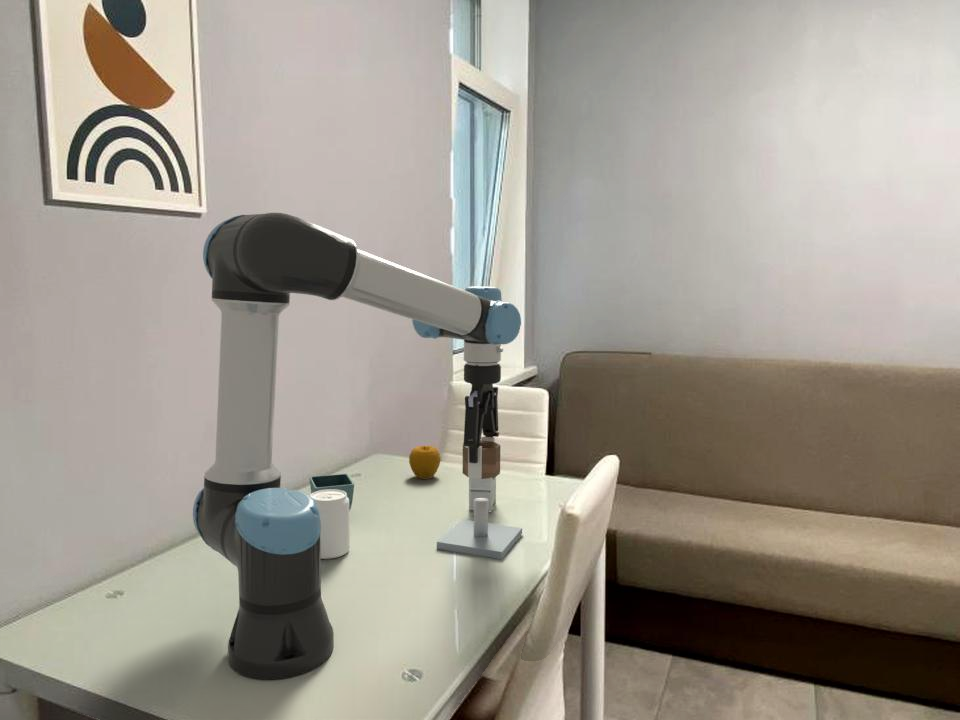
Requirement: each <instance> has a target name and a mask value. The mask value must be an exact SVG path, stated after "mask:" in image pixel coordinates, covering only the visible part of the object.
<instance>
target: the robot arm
mask: <svg viewBox="0 0 960 720" xmlns="http://www.w3.org/2000/svg"><path fill="white" fill-rule="evenodd" d="M202 259H203V264H204V267H205V270H206V272H207V274H208V275H209V276H210V278H211V280H212V281H211V302H213V303H214V304H215V305H216V307H217V308H218V309H219V310H220V311H221V317H220V318H221V321H220V323H221V324H220V341H219V342H220V343H219V344H220V345H219V362H218V363H219V369H218V386H217V387H218V388H217V389H218V392H217V409H216V410H217V412H216V416H217V417H216V436H215V437H216V439H215V457H214V458H215V460H214V463H213V464H212V465H211V466H210V467H209V468H208V469H207V470H206V471H205V472H204V477H203V478H204V479H203V488H202V489H201V490H200V491H199V492H198V494H197V495H196V497H195V500H194V503H193V508H192V521H193V524H194V527H195V529H196V532H197V533H198V535H199V536H200V538H201V539H202V540H203V542H204V543H205V545H207V546H208V547H210V549H212V550H213V551H216V552H217V553H219V554H220V555H221V556H223V558H225V559H227V561H229V562H230V563H231V564H232V565H233V566H235V567H236V568H237V573H238V575H237V576H238V599H239V600H238V601H239V605H238V609H237V612H236V617H235V619H234V623H233V626H232V630H231V632H230V635H229V639H228V643H227V655H228V656H227V657H228V658H227V659H228V664H229V666H230V668H231V669H232V670H234V672H237V673H238V674H240V675H242V676H245V677H247V678H253V679H257V680H278V679H286V678H287V679H288V678H291V677H295V676H299V675H301V674H304V673H307V672H309V671H312V670H314V669H316V668H317V667H319V666H321V665H322V664H323V663H324V662H326V661H327V660H328V658H329V657H330V656H331V655H332V653H333V651H334V648H335V645H334V644H335V641H334V640H335V639H334V628H333V626H332V624H331V622H330V619H329V616H328V613H327V610H326V607H325V604H324V601H323V599H322V574H321V573H322V569H321V568H322V567H321V566H322V565H321V564H322V563H321V562H322V561H321V560H322V559H321V543H320V534H321V520H320V515H319V508H318V505H317V503H316V502H315V500H314V499H313V498H312V497H311V496H310V495H309V494H308V493H306V492H303V491H302V490H298V489H289V488H286V487H281V477H282V474H281V471H280V470H279V468H277V466H275V464H274V463H273V441H274V422H275V420H274V419H275V401H276V381H277V380H276V379H277V364H278V363H277V360H278V359H277V358H278V343H279V341H278V340H279V321H280V320H279V318H280V315H281V314H282V312H283V311H284V310H285V309H287V308H288V307H289V306H290V298H291V294H297V295H298V294H300V295H307V296H314V297H317V298H318V297H319V298H323V299H326V300H327V301H328V300H329V301H336V300H338V299H340V298H344V299H348V300H351V301H353V302H356V303H357V302H358V303H360V304H363V305H365V306H369V307H373V308H376V309H378V310H382V311H385V312H388V313H392V314H395V315H397V316H402V317H403V318H407V319H411V320H412V325H413V328H414V331H415V332H416V334H417V335H418V336H419V337H421V338H424V339H434V340H435V339H438V338H447V339H449V338H450V339H454V340H456V339H457V340H463V361H464V362H465V364H464V365H463V380H464V382H465V383H468V384H470V385H471V388H470V389H471V390H470V393H469V395H465V397H464V405H465V407H464V408H465V409H464V410H465V411H464V430H463V444H462V446H463V445H464V446H468V477H467V478H468V479H469V478H478V479H481V478H482V446H480V442H481V441H490V442H495V443H496V441H495V440H496V439H495V438H498V437H499V436H500V432H498V431H499V411H498V410H499V407H498V405H499V404H498V394H499V387H498V386H493V385H495V384H499V383H500V382H501V380H502V379H501V378H502V369H501V368H502V366H501V364H500V363H499V362H501V360H502V359H501V358H502V357H501V356H502V355H501V354H502V353H503V352H504V348H503V347H502V345H508V344H510V343H512V342H514V341H515V340H516V338H517V337H518V335H519V333H520V330H521V326H522V318H521V314H520V311H519V309H518V308H517V306H515V305H514V304H512V303H510V302H508V301H507V302H506V301H505V302H504V301H503V300H502V299H503V298H502V291H501V289H500V288H499V287H497V286H496V287H495V286H467V287H465V289H462V288H460V287H456V286H455V285H451V284H448V283H446V282H444V281H442V280H441V281H440V280H439V279H436V278H433V277H432V276H431V277H430V276H428V275H425V274H423V273H421V272H418V271H416V270H412V269H410V268H407V267H405V266H402V265H399V264H396V263H394V262H392V261H389V260H386V259H384V258H381V257H378V256H376V255H373V254H371V253H368V252H367V251H363V250H360V249H358V246H357V244H356V243H355V241H354V240H353V239H351V238H349V237H346V236H344V235H341V234H338V233H336V232H333V231H331V230H330V229H327V228H324V227H322V226H320V225H318V224H315V223H313V222H310V221H308V220H305V219H304V218H300V217H298V216H295V215H291V214H288V213H283V212H266V213H257V214H256V213H255V214H239V215H236V216H233V217H231V218H228V219H225V220H224V221H221V222H220V223H219V224H217V225H216V226H215V227H214V228H213V229H212V230H211V231H210V233H209V234H208V235H207V237H206V239H205V242H204V246H203V249H202ZM482 435H483V436H482Z"/></svg>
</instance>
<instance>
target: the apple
mask: <svg viewBox="0 0 960 720" xmlns="http://www.w3.org/2000/svg"><path fill="white" fill-rule="evenodd" d="M440 455H441V454H440V451H439V450H438V448H436V446H433V445H419V446H416V447H414V448H412V450H411V451H410V453H409V457H408V463H409V466H410V469H411V471H412V473H413V474H414V476H416V478H418V479H420V478H421V480H428V478H429V479H432V478H433V477H434V476H435V475H436V473H437V472H438V469H439V466H440V464H441V456H440ZM431 477H432V478H431Z"/></svg>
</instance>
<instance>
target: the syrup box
mask: <svg viewBox="0 0 960 720" xmlns="http://www.w3.org/2000/svg"><path fill="white" fill-rule="evenodd" d="M496 489H497V476H496V477H494V478H486V479H477V478H469V477H468V509H469V511H471V510H474V499H476V498H486V499H488V511H492V510H493V511H494V509H495V507H494V506H496V504H497V499H496V497H497V494H496V493H497V490H496ZM493 508H494V509H493ZM493 511H492V512H493Z"/></svg>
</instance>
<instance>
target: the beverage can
mask: <svg viewBox="0 0 960 720" xmlns="http://www.w3.org/2000/svg"><path fill="white" fill-rule="evenodd" d="M309 496H311V497H312V498H313V499H314V500H315V502H316V503H317V505H318V508H319V515H320V520H321V534H320V543H321V560H322V559H323V560H328V559H329V560H331V559H332V560H333V559H337V558H340V557H342V556H343V555H345V554H347V553H348V552H350V548H351V546H350V539H351V538H350V537H351V536H350V511H349V499H348V497H347V494H346V492H344V491H342V490H336V489H326V490H320V491H316V492H313V493H312V494H311V493H310V495H309Z"/></svg>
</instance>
